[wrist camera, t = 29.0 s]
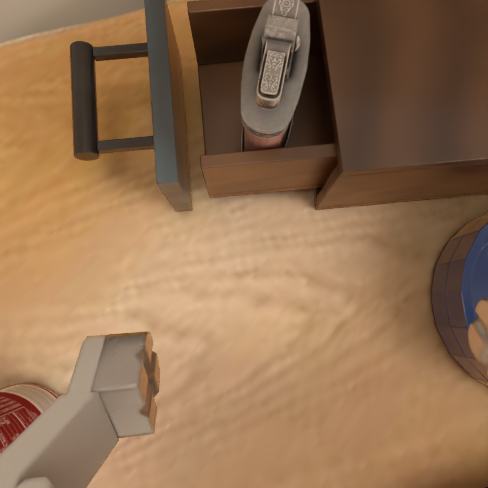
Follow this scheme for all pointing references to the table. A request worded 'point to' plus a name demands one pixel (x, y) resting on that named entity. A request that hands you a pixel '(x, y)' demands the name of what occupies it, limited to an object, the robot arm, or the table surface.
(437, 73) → the cabinet
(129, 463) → the table surface
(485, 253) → the bowl
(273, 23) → the lighter
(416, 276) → the table surface
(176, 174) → the drawer
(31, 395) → the soda can
